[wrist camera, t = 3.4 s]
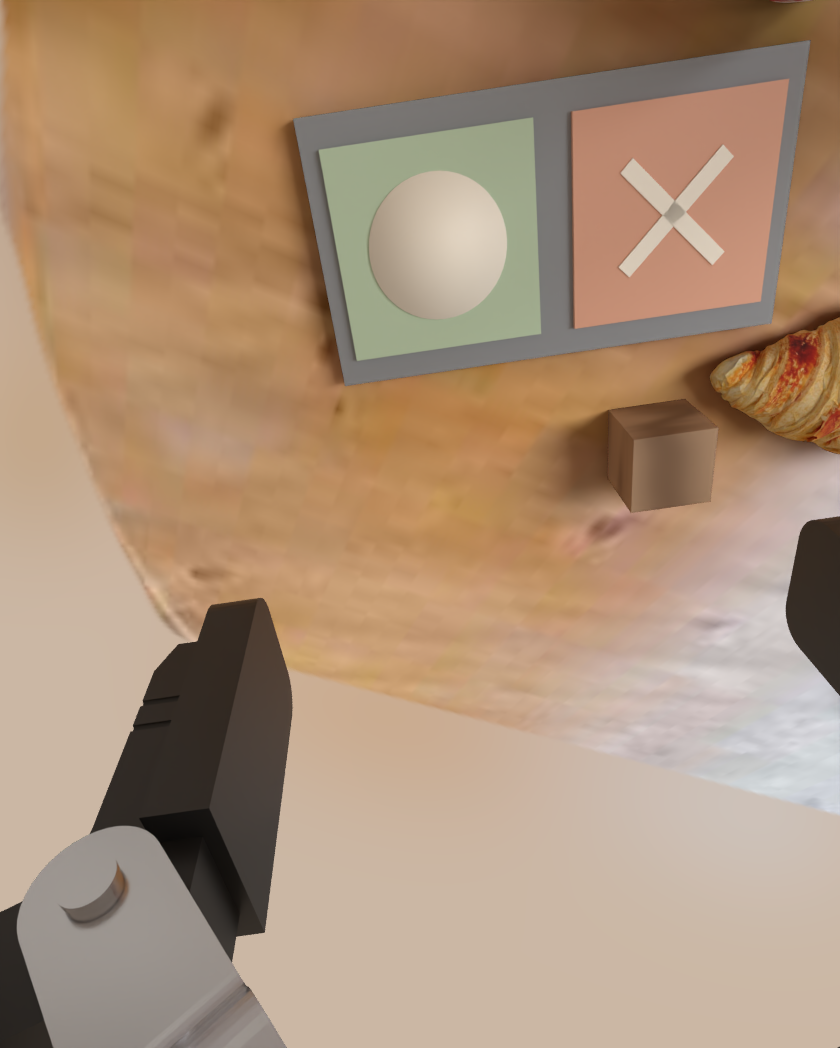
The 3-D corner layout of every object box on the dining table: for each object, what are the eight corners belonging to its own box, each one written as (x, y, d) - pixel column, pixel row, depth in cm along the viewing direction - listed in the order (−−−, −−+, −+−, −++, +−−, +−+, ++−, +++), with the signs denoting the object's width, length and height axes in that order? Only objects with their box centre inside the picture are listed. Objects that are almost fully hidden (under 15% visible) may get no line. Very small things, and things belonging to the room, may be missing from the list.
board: (799, 42, 34) (815, 39, 33) (763, 319, 41) (774, 325, 40) (295, 119, 34) (292, 118, 33) (345, 380, 41) (344, 388, 40)
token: (684, 398, 44) (718, 427, 39) (679, 467, 46) (710, 501, 42) (608, 409, 44) (633, 439, 39) (607, 477, 46) (631, 512, 42)
